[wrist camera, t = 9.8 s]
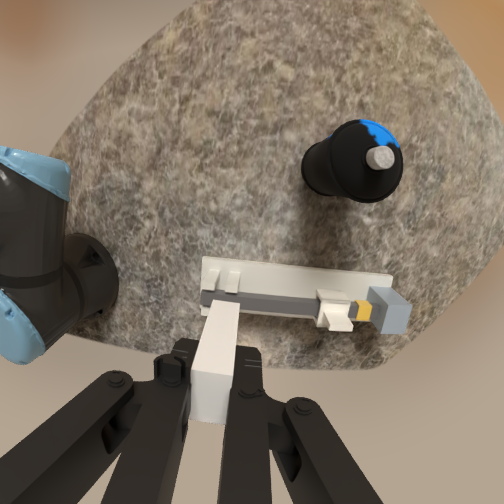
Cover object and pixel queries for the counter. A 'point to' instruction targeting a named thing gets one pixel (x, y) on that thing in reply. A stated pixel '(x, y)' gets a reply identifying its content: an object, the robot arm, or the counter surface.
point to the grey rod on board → (301, 291)
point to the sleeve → (333, 310)
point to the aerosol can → (355, 163)
